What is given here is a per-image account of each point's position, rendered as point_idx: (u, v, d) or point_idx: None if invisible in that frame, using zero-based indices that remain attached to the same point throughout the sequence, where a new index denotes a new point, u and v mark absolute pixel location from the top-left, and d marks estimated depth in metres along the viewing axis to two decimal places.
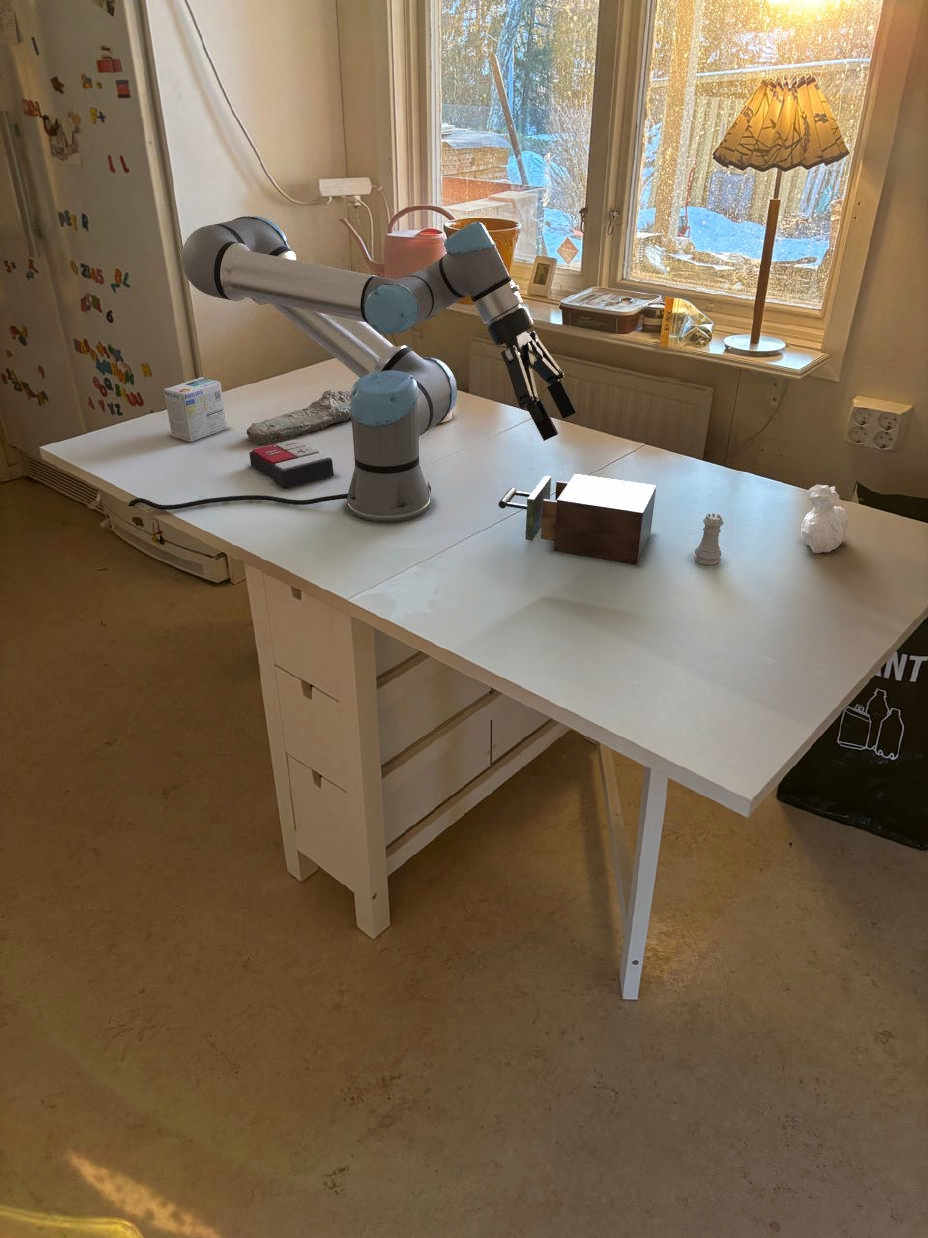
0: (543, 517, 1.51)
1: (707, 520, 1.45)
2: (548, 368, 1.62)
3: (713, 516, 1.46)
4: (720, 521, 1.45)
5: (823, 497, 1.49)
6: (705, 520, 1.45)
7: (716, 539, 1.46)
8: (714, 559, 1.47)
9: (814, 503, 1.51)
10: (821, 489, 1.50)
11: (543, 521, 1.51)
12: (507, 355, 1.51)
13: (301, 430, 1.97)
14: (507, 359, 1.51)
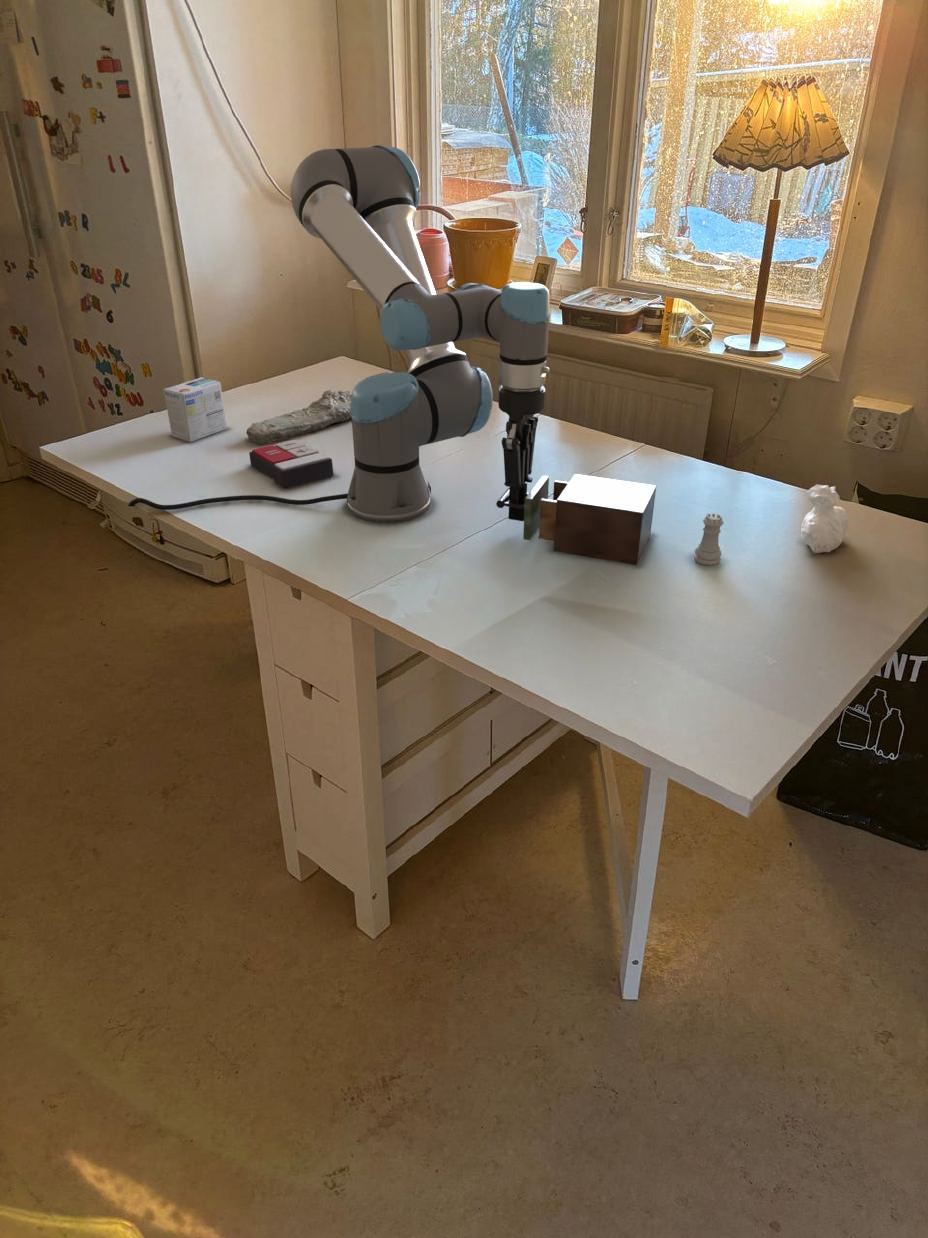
0: (541, 517, 1.51)
1: (707, 520, 1.45)
2: (525, 460, 1.53)
3: (713, 516, 1.46)
4: (720, 521, 1.45)
5: (823, 497, 1.49)
6: (705, 520, 1.45)
7: (716, 539, 1.46)
8: (714, 559, 1.47)
9: (814, 503, 1.51)
10: (821, 489, 1.50)
11: (541, 521, 1.52)
12: (507, 446, 1.45)
13: (301, 430, 1.97)
14: (506, 448, 1.46)
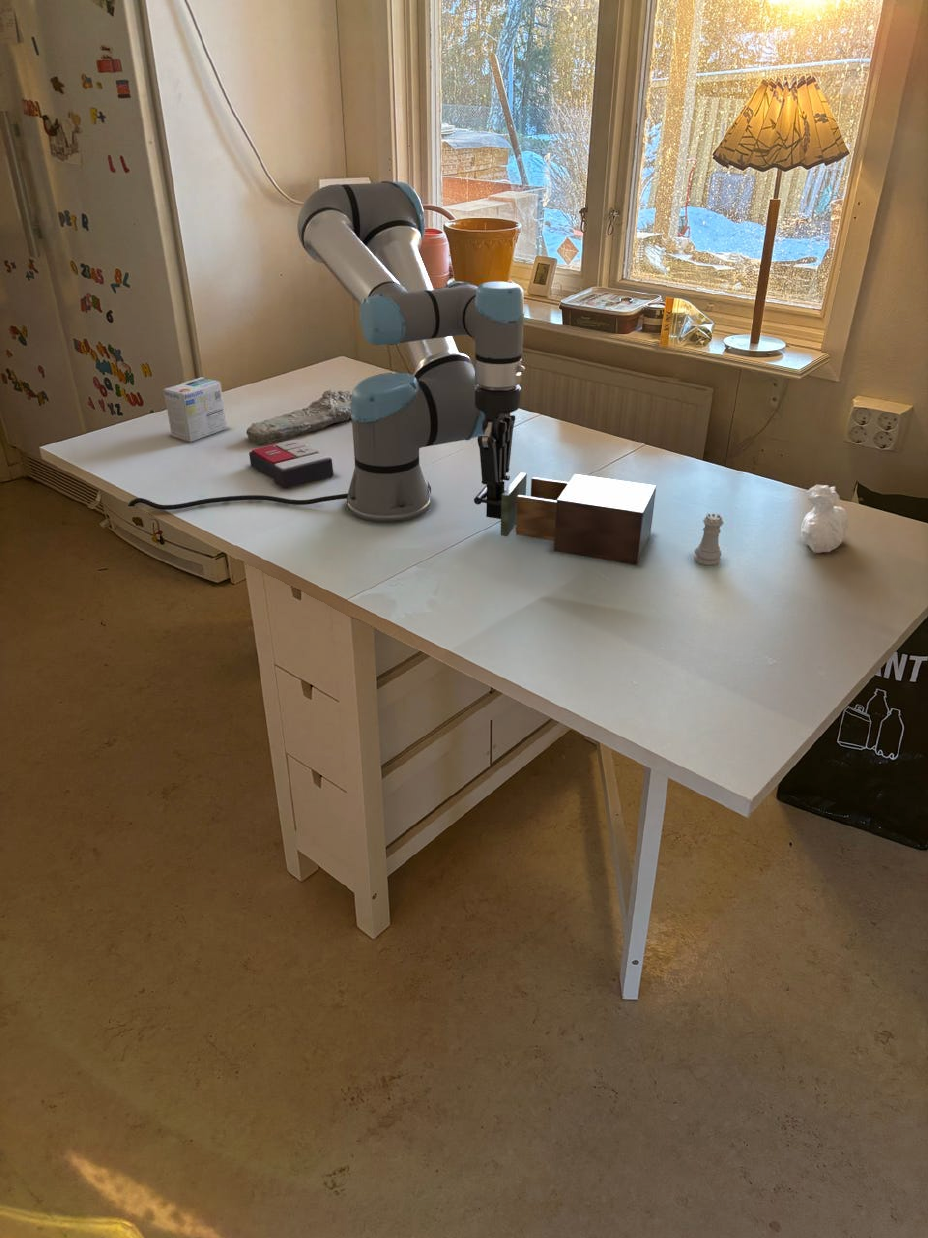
0: (518, 513, 1.52)
1: (707, 520, 1.45)
2: (502, 458, 1.54)
3: (713, 516, 1.46)
4: (720, 521, 1.45)
5: (823, 497, 1.49)
6: (705, 520, 1.45)
7: (716, 539, 1.46)
8: (714, 559, 1.47)
9: (814, 503, 1.51)
10: (821, 489, 1.50)
11: (518, 517, 1.53)
12: (483, 444, 1.47)
13: (301, 430, 1.97)
14: (482, 446, 1.47)
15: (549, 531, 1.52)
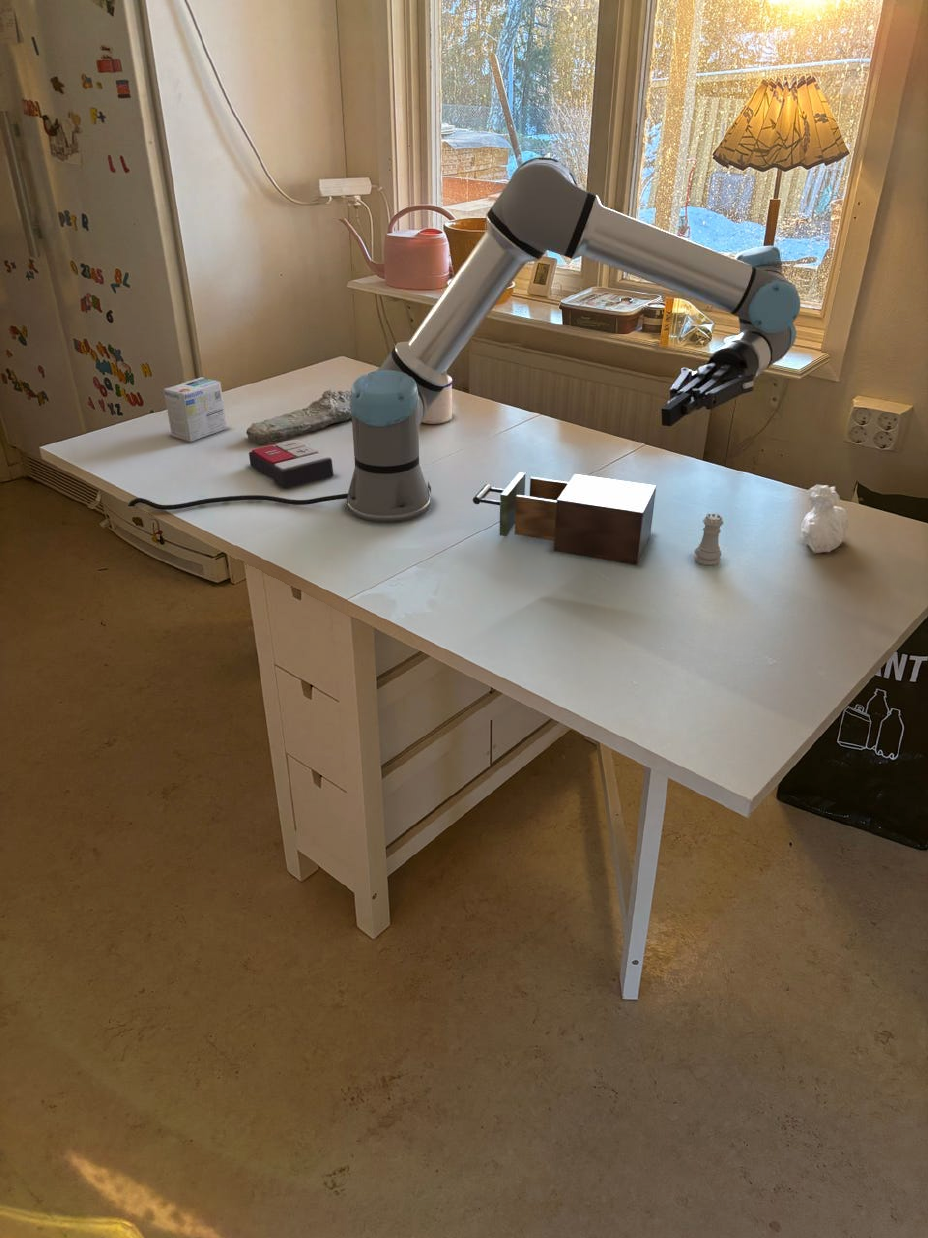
0: (516, 513, 1.52)
1: (707, 520, 1.45)
2: None
3: (713, 516, 1.46)
4: (720, 521, 1.45)
5: (823, 497, 1.49)
6: (705, 520, 1.45)
7: (716, 539, 1.46)
8: (714, 559, 1.47)
9: (814, 503, 1.51)
10: (821, 489, 1.50)
11: (516, 517, 1.53)
12: (749, 382, 1.43)
13: (301, 430, 1.97)
14: (745, 381, 1.43)
15: (548, 531, 1.52)
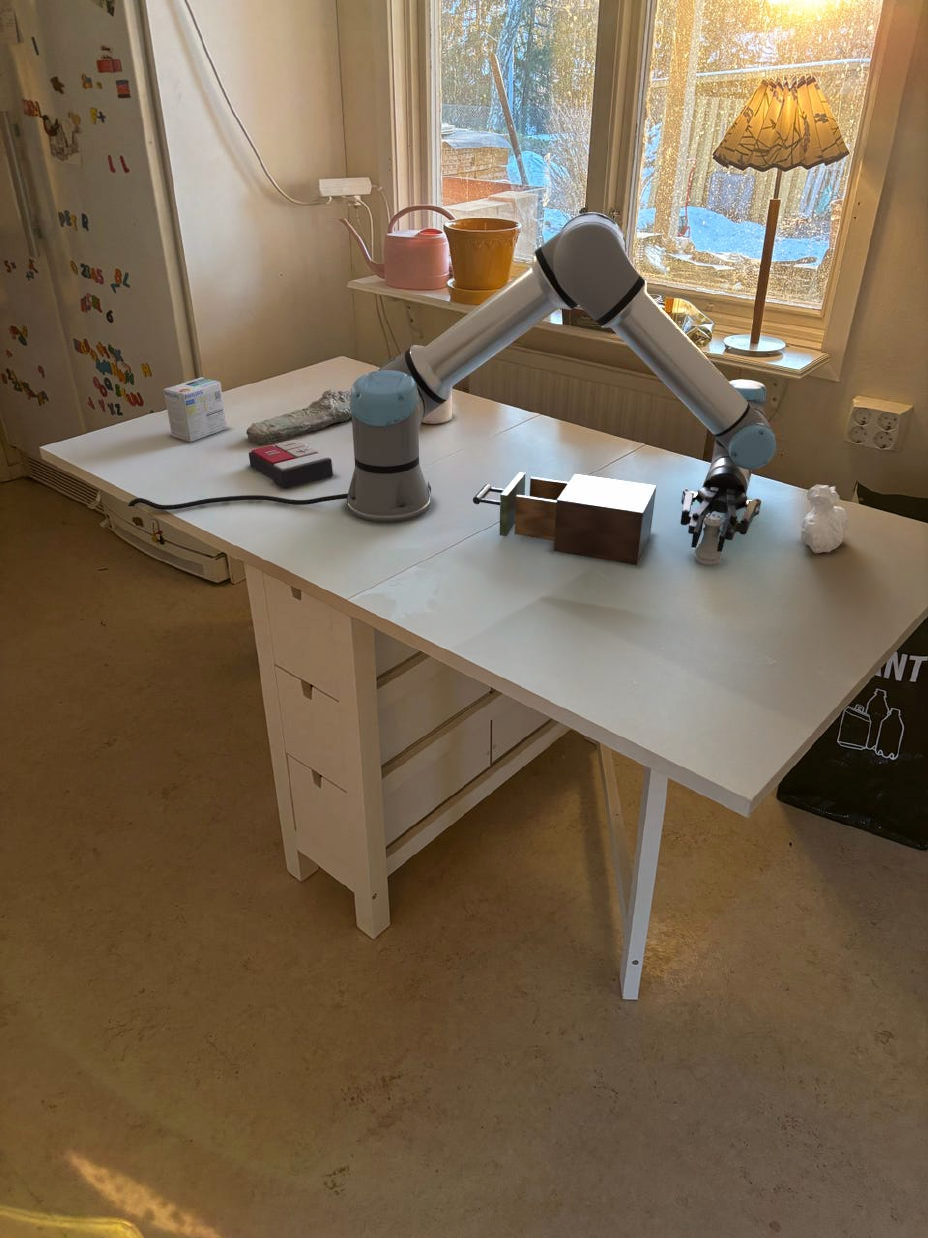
0: (516, 513, 1.52)
1: (707, 520, 1.45)
2: None
3: (713, 516, 1.46)
4: (720, 521, 1.45)
5: (823, 497, 1.49)
6: (705, 520, 1.45)
7: (716, 539, 1.46)
8: (714, 559, 1.47)
9: (814, 503, 1.51)
10: (821, 489, 1.50)
11: (516, 517, 1.53)
12: (758, 506, 1.52)
13: (301, 430, 1.97)
14: (757, 506, 1.52)
15: (548, 531, 1.52)
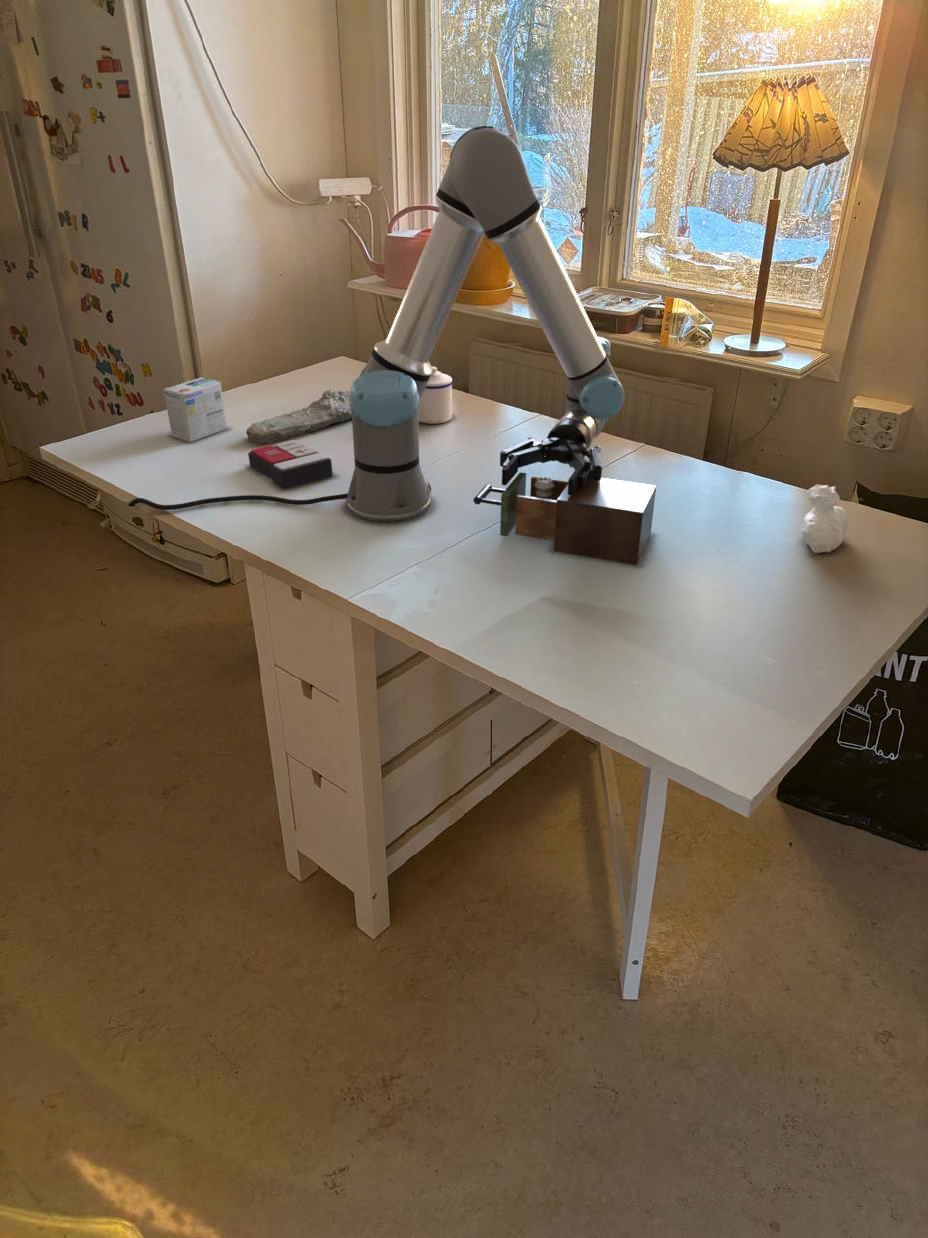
0: (517, 513, 1.52)
1: (538, 483, 1.52)
2: (529, 463, 1.58)
3: (544, 480, 1.53)
4: (550, 484, 1.52)
5: (823, 497, 1.49)
6: (536, 483, 1.53)
7: None
8: None
9: (814, 503, 1.51)
10: (821, 489, 1.50)
11: (517, 517, 1.53)
12: (600, 453, 1.59)
13: (301, 430, 1.97)
14: (599, 452, 1.59)
15: (549, 531, 1.52)
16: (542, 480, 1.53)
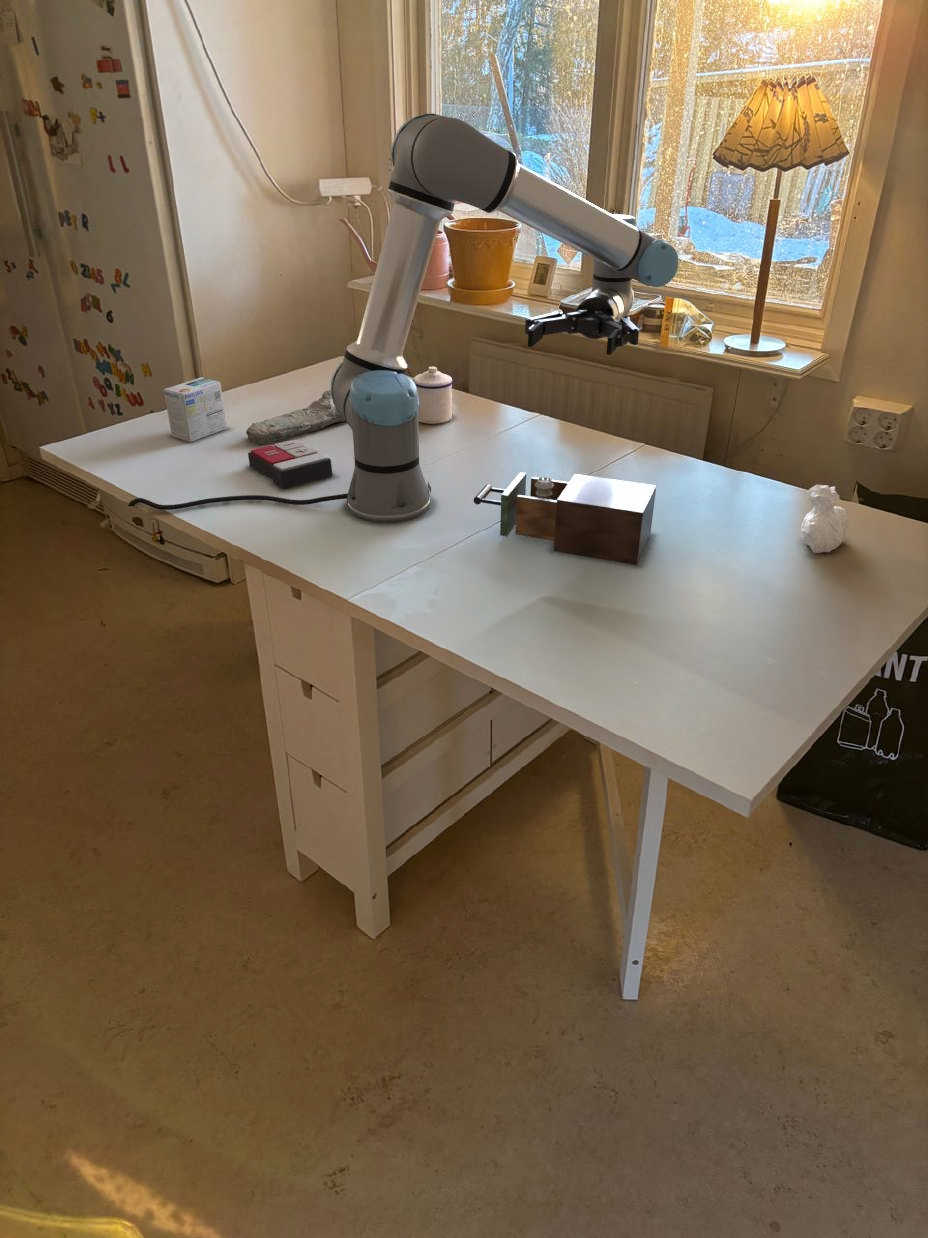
0: (517, 513, 1.52)
1: (538, 483, 1.52)
2: (555, 331, 1.61)
3: (544, 480, 1.53)
4: (550, 484, 1.52)
5: (823, 497, 1.49)
6: (536, 483, 1.53)
7: None
8: None
9: (814, 503, 1.51)
10: (821, 489, 1.50)
11: (517, 517, 1.53)
12: None
13: (301, 430, 1.97)
14: None
15: (549, 531, 1.52)
16: (542, 480, 1.53)
